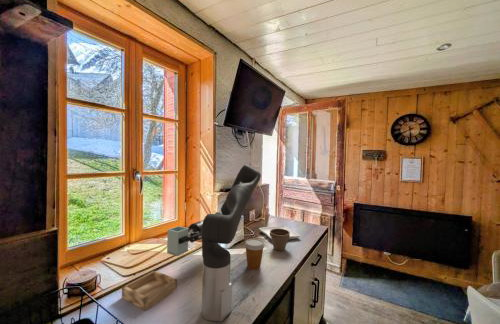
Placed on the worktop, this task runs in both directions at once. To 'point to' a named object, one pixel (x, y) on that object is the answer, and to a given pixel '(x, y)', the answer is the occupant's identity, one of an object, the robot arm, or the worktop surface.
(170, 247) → the square green vase
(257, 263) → the disposable coffee cup
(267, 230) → the salad plate
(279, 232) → the flower pot
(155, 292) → the pine crate
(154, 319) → the worktop surface
